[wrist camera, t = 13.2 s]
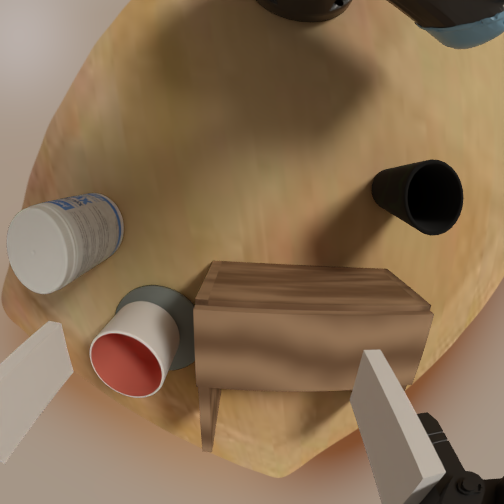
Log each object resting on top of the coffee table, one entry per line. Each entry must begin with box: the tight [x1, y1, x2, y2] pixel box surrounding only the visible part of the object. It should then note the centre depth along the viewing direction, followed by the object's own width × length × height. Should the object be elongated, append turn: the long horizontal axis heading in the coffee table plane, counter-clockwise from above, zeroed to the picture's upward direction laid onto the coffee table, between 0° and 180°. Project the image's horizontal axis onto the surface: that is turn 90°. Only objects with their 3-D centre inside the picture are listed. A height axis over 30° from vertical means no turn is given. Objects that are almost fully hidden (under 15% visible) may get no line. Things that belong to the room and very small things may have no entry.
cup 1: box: [90, 301, 180, 398], centre depth 39 cm, size 10×10×10 cm
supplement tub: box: [7, 193, 124, 294], centre depth 33 cm, size 10×10×15 cm
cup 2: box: [372, 160, 463, 235], centre depth 33 cm, size 8×8×12 cm
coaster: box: [115, 285, 195, 370], centre depth 44 cm, size 14×14×1 cm
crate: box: [193, 261, 434, 452], centre depth 37 cm, size 22×24×14 cm
